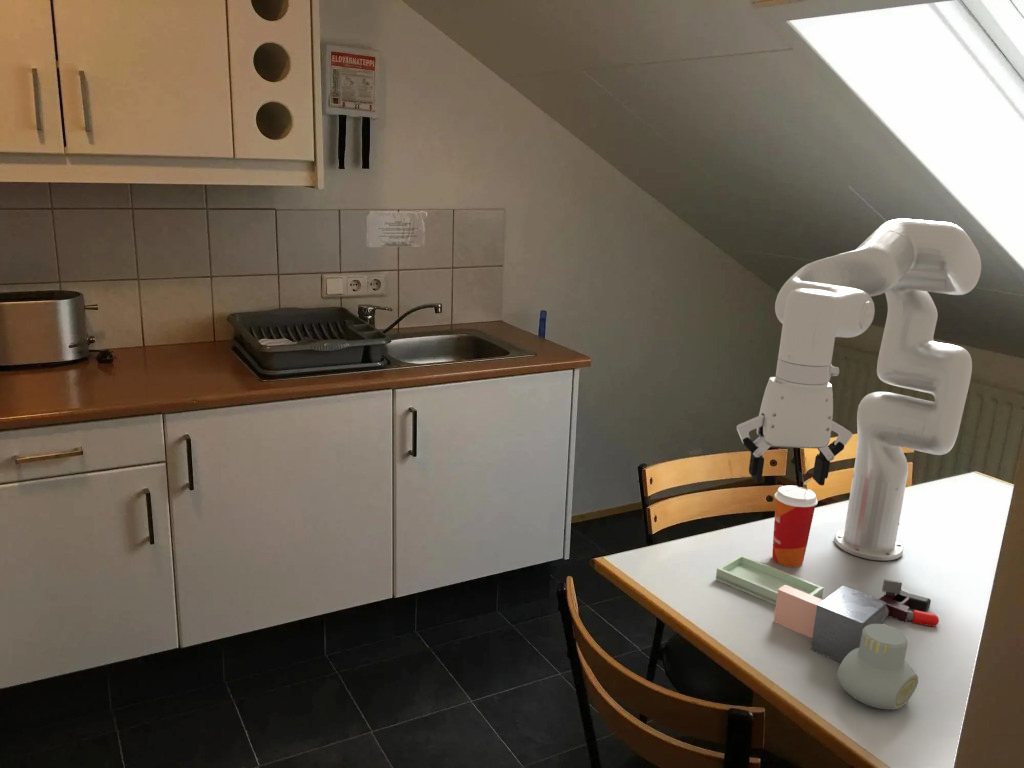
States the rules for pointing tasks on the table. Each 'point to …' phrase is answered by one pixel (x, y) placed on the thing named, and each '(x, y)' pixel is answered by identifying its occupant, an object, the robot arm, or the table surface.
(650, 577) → the table surface
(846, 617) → the dispenser
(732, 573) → the tray
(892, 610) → the toy gun
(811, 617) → the pink rectangular block
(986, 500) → the table surface
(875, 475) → the robot arm
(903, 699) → the air freshener
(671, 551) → the table surface
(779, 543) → the paper cup
